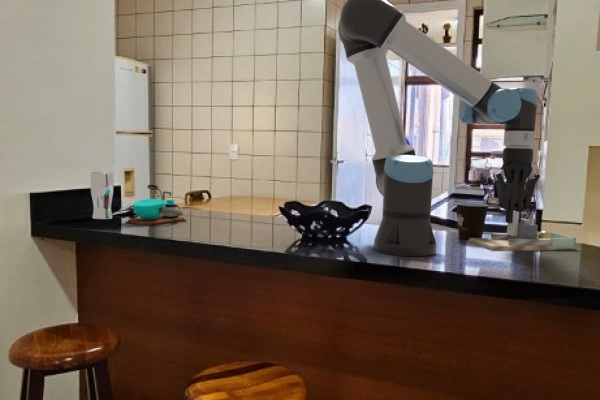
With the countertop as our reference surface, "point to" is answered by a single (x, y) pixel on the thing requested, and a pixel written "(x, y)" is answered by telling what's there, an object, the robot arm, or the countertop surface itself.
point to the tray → (562, 241)
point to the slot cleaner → (525, 230)
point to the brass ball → (544, 235)
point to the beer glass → (102, 194)
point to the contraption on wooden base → (156, 211)
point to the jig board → (512, 243)
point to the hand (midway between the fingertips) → (512, 234)
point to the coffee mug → (471, 220)
